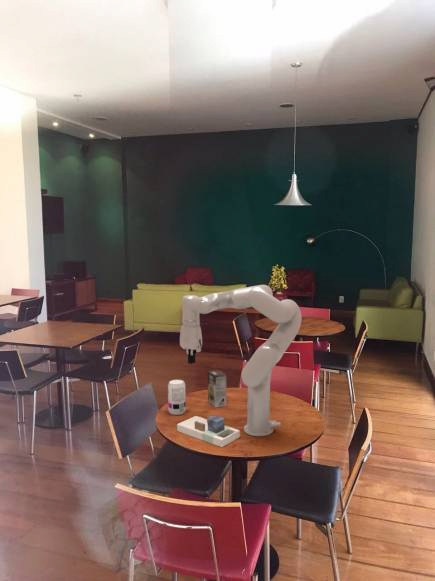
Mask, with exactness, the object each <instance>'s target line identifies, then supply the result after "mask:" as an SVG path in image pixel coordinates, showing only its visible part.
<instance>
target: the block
mask: <svg viewBox="0 0 435 581" xmlns="http://www.w3.org/2000/svg"><path fill="white" fill-rule="evenodd" d="M225 423H226V422H225V418H224V417H222V416H219V415H214V416H212V417H211V418H208V430H209V431H211V432H214V433H216V434H217V433H219V432H221V431H223V430H225V426H226V425H225Z"/></svg>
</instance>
